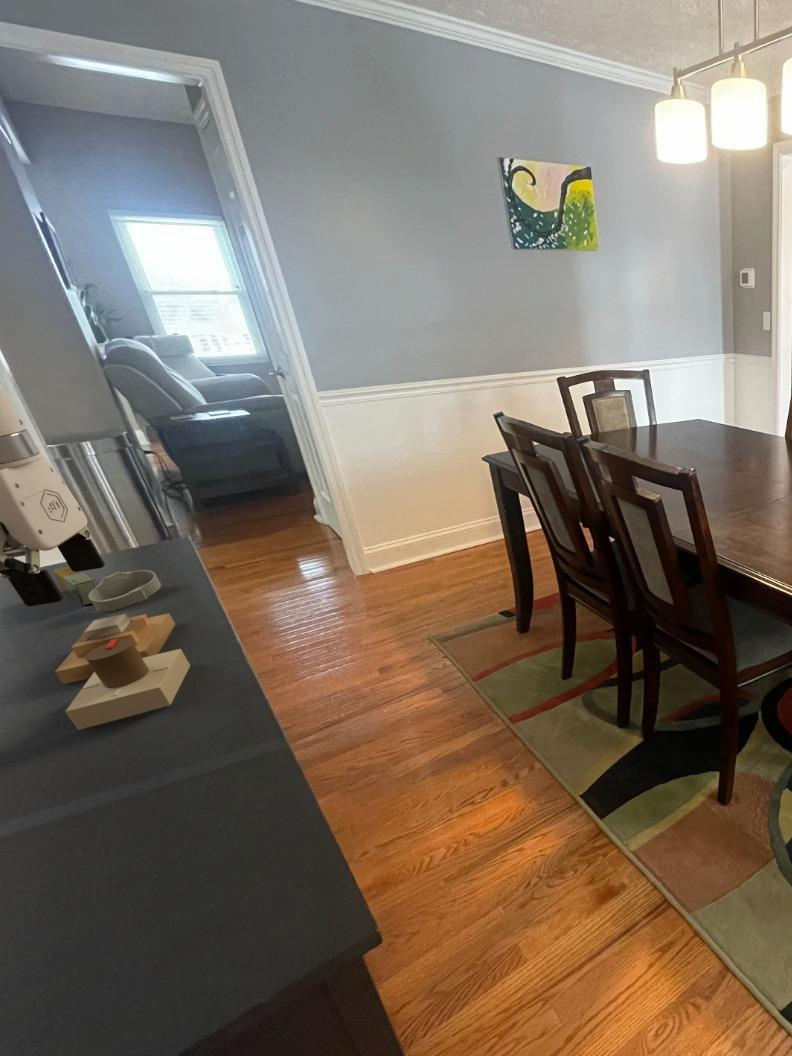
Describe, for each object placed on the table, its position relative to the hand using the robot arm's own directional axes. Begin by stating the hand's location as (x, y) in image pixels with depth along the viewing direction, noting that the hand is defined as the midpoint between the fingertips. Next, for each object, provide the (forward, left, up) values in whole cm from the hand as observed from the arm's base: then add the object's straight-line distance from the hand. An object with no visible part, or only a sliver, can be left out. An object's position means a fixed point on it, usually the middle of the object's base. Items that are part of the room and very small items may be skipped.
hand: (69, 585), depth 75 cm
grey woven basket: (-9, +33, -16) cm, 37 cm away
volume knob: (+1, -3, -13) cm, 13 cm away
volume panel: (+1, -3, -16) cm, 16 cm away
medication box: (-17, +40, -16) cm, 46 cm away
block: (-4, +12, -16) cm, 20 cm away
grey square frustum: (-4, +12, -12) cm, 17 cm away
